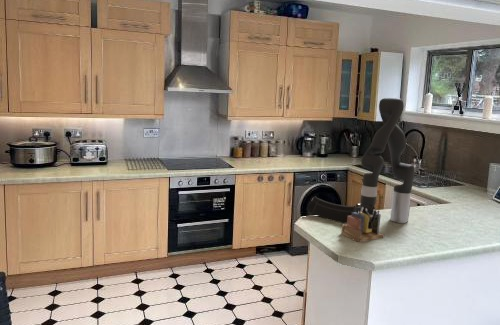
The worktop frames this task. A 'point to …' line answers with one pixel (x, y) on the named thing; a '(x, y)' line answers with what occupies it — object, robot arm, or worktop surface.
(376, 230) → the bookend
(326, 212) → the magazine
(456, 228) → the worktop surface
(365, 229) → the book
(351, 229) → the shelf
